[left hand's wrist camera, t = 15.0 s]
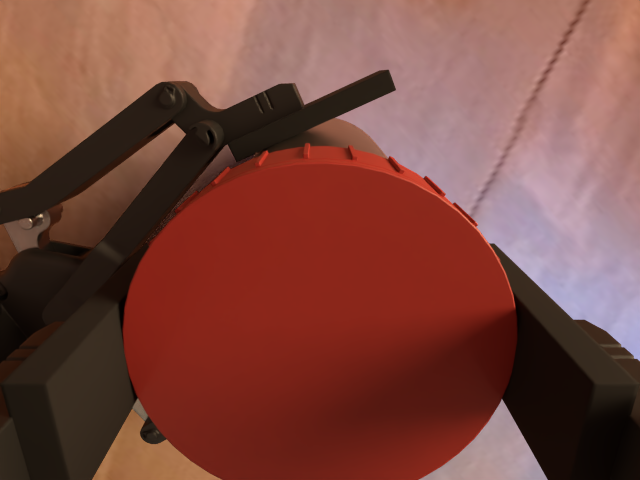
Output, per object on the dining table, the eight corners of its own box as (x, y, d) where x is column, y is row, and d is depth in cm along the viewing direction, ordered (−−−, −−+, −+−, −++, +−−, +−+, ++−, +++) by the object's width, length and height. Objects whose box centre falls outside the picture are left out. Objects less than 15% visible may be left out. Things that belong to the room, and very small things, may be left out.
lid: (82, 276, 12) (32, 318, 10) (365, 61, 10) (376, 59, 8) (288, 484, 15) (283, 552, 12) (544, 342, 13) (588, 394, 11)
